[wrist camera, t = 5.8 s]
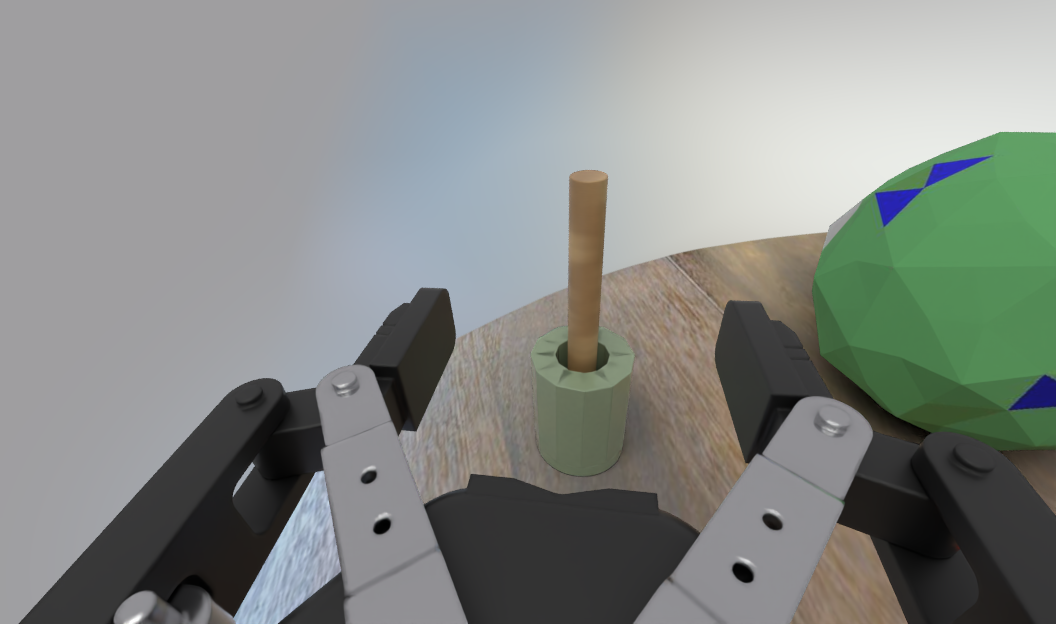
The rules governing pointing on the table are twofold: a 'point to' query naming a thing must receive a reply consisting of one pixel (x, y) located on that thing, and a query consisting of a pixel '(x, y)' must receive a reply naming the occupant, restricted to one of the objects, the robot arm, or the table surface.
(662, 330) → the table surface
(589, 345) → the stick
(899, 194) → the decorative sphere
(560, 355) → the crock
